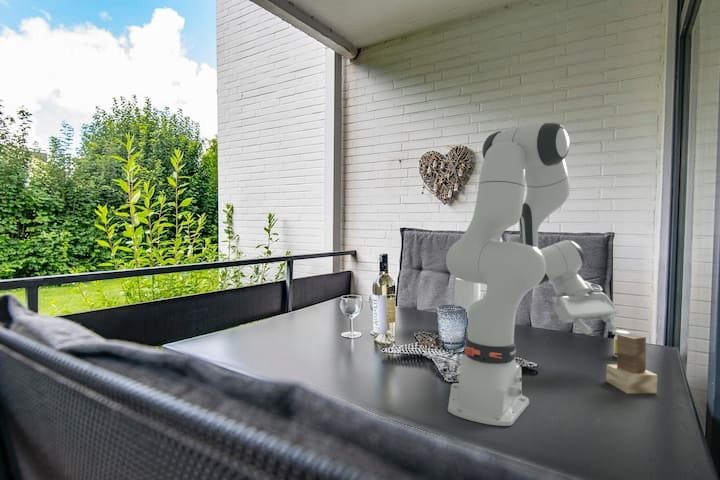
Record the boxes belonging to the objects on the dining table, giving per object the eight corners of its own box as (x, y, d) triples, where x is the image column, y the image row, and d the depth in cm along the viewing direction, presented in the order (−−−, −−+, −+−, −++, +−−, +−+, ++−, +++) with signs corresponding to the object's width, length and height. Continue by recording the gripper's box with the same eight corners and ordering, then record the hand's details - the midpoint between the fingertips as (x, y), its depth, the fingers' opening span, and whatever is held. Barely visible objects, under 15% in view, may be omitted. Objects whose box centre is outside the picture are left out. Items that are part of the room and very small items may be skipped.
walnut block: (633, 373, 104) (633, 338, 104) (617, 367, 108) (617, 334, 108) (645, 370, 106) (645, 337, 106) (628, 365, 110) (629, 333, 110)
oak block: (627, 394, 103) (628, 375, 103) (606, 382, 111) (606, 364, 111) (656, 394, 103) (657, 375, 103) (633, 381, 111) (634, 364, 111)
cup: (483, 331, 161) (484, 278, 160) (475, 337, 152) (477, 281, 152) (458, 327, 167) (459, 276, 166) (449, 333, 158) (450, 279, 157)
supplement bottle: (632, 359, 130) (634, 334, 129) (616, 358, 130) (617, 333, 130) (626, 355, 134) (627, 330, 134) (610, 353, 135) (611, 329, 135)
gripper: (554, 288, 118) (581, 328, 109) (604, 285, 125) (633, 323, 117) (542, 300, 123) (567, 340, 114) (590, 296, 130) (618, 334, 121)
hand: (601, 331), depth 115 cm, fingers open, 8 cm apart
